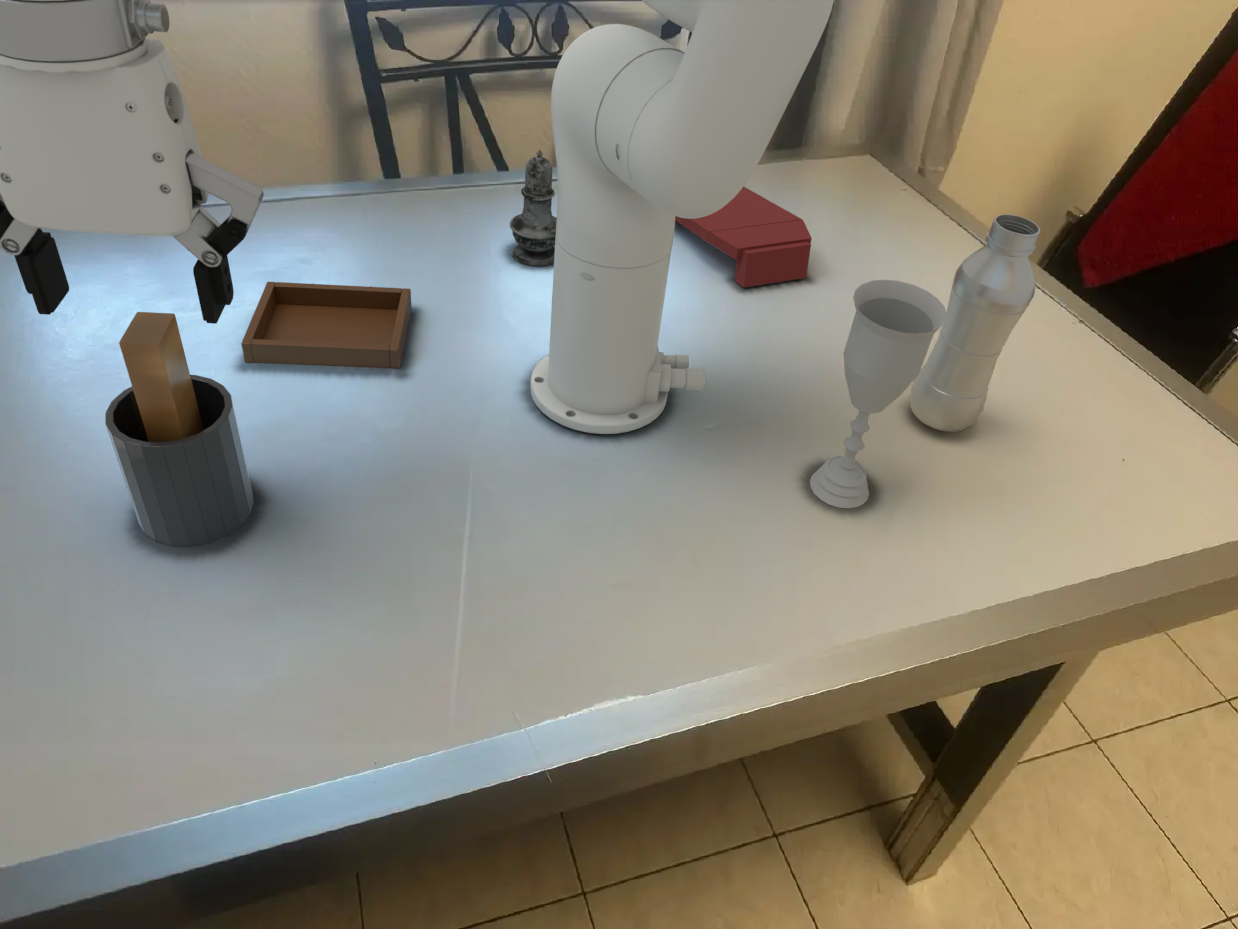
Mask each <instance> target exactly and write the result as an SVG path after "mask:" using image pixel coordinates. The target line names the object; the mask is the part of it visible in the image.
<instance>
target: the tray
mask: <svg viewBox="0 0 1238 929" xmlns="http://www.w3.org/2000/svg"><path fill="white" fill-rule="evenodd" d="M411 291H412V290H411V288H405V287H403V288H402V287H386V286H385V287H382V286H365V285H345V284H344V285H342V284H322V283H303V282H282V281H266V284H265V287H264V289H263V291H262V293H261V296H260V298H259V301H258V303H257V305H256V308H255V310H254V312H253V315H252V317H251V320H250V321H249V324H248V326H247V329H246V332H245V334H244V336H243V338H242V341H241V343H240V345H241V348H242V355H243V359H244V362H245V363H247V364H250V363H251V364H271V365H272V364H273V365H277V364H278V365H295V366H296V365H297V366H318V367H319V366H320V367H321V366H323V367H345V368H348V367H349V368H372V369H393V370H394V369H395V370H399V369H400V368H401V362H402V361H403V358H404V353H405V347H406V343H407V337H408V334H409V327H410V321H411V317H412V312H413V309H412V293H411Z"/></svg>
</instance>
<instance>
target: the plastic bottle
mask: <svg viewBox="0 0 1238 929" xmlns="http://www.w3.org/2000/svg"><path fill="white" fill-rule="evenodd" d="M990 225H991V226H990V229H989V230H988V231H987V233H986V235H985V238H984V239H985V242H986V244H985V245H983V246H982V247H980V248H979V249H977V250H975V251H974V252H973V253H971V254H970V255H969V256H968V257H966V258H965V259H964V260H962V262H961V263H960V265H959V266H958V267H957V268H956V270H955V272H954V276H953V280H952V286H951V289H950V293H949V297H948V298H949V299H948V303H947V308H946V312H947V318H946V322H945V323H944V324H943V325H942V327H941V328H940V329H939V334H938V336H937V340H936V341H935V343H934V345H933V347H932V349H931V350H930V353H929V356H928V357H927V359H926V361H925V363H924V364H923V365H922V367H921V370H920V373H919V375H918V376H917V377H916V378H915V379H914V381H913V382H912V383H911V386H910V393H909V397H908V398H909V399H908V402H909V406H910V409H911V412H912V414H913V415H914V417H915V418H916V419H918V420H919V421H920V422H921V423H923V424H924V425H925V426H927V427H929V428H932V429H934V430H937V431H940V432H947V433H956V432H960V431H964V430H965V429H967V428H969V427H971V426H973V425H974V424H975V423H976V421H977V420H978V418H979V417H980V416H981V414H982V413H983V411H984V408H985V404H986V401H987V397H988V394H989V385H990V382H991V379H992V376H993V373H994V371H995V367H996V365H997V362H998V359H999V356H1000V355H1001V353H1002V351H1003V348H1004V347H1005V345H1006V343H1007V341H1008V339H1009V337H1010V335H1011V334H1012V332H1013V330H1014V328H1015V327H1016V325H1017V324H1018V322H1019V321H1020V320H1021V318H1022V316H1023V315H1024V313H1025V312H1026V310H1027V308H1028V307H1029V306H1030V303H1031V302H1032V300H1033V298H1034V296H1035V292H1036V277H1035V274H1034V269H1033V267H1032V264H1031V262H1030V261H1031V260H1030V259H1029V257H1030V256H1031V255H1033V254H1034V253H1035V250H1036V247H1037V245H1036V244H1037V242H1038V239H1039V236H1040V234H1041V228H1040V226H1039V225H1038V224H1037V223H1036V222H1034V221H1032V220H1031V219H1029V218H1027V217H1023V216H1020V215H1017V214H1009V213H1001V214H998V215H996V216H995V217H994V218H993V220H992V223H991V224H990Z"/></svg>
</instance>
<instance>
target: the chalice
mask: <svg viewBox="0 0 1238 929" xmlns="http://www.w3.org/2000/svg"><path fill="white" fill-rule="evenodd" d="M852 298H853V303H854V307H855V314H854V317H853V320H852V323H851V326H850V330H849V333H848V336H847V340H846V343H845V347H844V350H843V363H844V364H843V366H844V376H845V380H846V385H847V390H848V394H849V398H850V402H851V405H852V406H853V407H854V408H855V409H857V410H858V413H857V415H856V416H855V418H854V419H853V420H852V421H850V423H849V425H850V428H851V433H850V435H849V436H847V437H845V438H844V439H843V442H842V443H843V445H844V447H845V453H843V455H839V456H834V457H832V458H829V459H826V461H825V462H823V464H822V465H821V466H820V467H819V468H818V469H817V470H816V471H815V472H814V473H813V474H812V475H811V477H810V480H809V484H810V486H809V487H810V489H811V491H812V492H813V494H814V495H815V496H816V497H817V498H818V499H819V500H820V501H822V502H824V503H825V504H827V505H829V506H832V507H836V508H840V509H855V508H859V507H860V506H863V505H864V504H865V503H866V502H867V501H868V499H869V496H870V491H869V486H868V485H869V483H868V479H867V478H868V475H867V471H866V470H865V468H864V467H863V465H862V463H860V462H859V461H857V460H856V456H857V455H858V453H859V452H861V451H863V450H865V443H864V441H863V436H864V435H865V434H866V433H868V432H869V431H870V429H871V428H870V427H871V426H870V424H869V418H870V415H871V414H875V415H876V414H879V413H881V412H883V411H885V409H887V408H888V407H889V406H890V405H891V404H892V403H894V402H895V401H896V400H897V399H898V398H899V397H901V396H902V395H903V393H904V392H905V391H906V390H907V389H908V388H909V387H910V385H912V384H913V382H914V380H915V378H916V377H917V376H918V375H919V373H920V370H921V368H922V367H923V366H924V362H925V359H926V357H927V353H928V351H929V348H930V346H931V342H932V340H933V337H934V335H935V333H937V332H938V331H939V330H941V328H942V325H943V324H944V323H945V322H946V318H947V309H946V308H945V305H944V304H943V303H942V302H941V300H940V299H939V298H938V297H937V296H935V295H934V294H932V293H931V292H929V291H928V290H927V289H924V288H922V287H920V286H917V285H915V284H912V283H909V282H906V281H905V282H904V281H900V280H893V279H875V280H870V281H867V282H864V283H862V284H860V285H859V286H858V287H857V288H856V289H855V290H854V293H853V296H852Z"/></svg>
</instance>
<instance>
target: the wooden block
mask: <svg viewBox="0 0 1238 929" xmlns="http://www.w3.org/2000/svg"><path fill="white" fill-rule="evenodd" d="M118 345H119V347H120V351H121V354H122V357H123V361H124V364H125V367H126V368H125V369H126V371H127V374H128V378H129V381H130V385H131V387H132V388H133V391H134V394H135V398H136V401H137V404H138V407H139V411H140V414H141V417H142V421H143V424H144V427H145V431H146V434H147V437H148V441H149V442H168V441H174V440H181V439H184V438H187V437H190V436H193V435H195V434H198V433H200V432H202V431H203V430H204V429H203V425H202V421H201V417H200V413H199V409H198V405H197V401H196V397H195V393H194V389H193V385H192V381H191V377H190V375H191V374H190V369H189V365H188V361H187V357H186V353H185V349H184V345H183V340H182V336H181V332H180V329H179V325H178V321H177V317H176V314H175V312H174V313H173V312H171V313H170V312H152V311H151V312H150V311H149V312H148V311H137V312H136V313H135V314H134V316H133V318H132V320H131V321H130V323H129V325H128V327H127V328H126V330H125V331H124V333H123V334H122V336H121V338H120V340H119V341H118Z"/></svg>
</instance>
